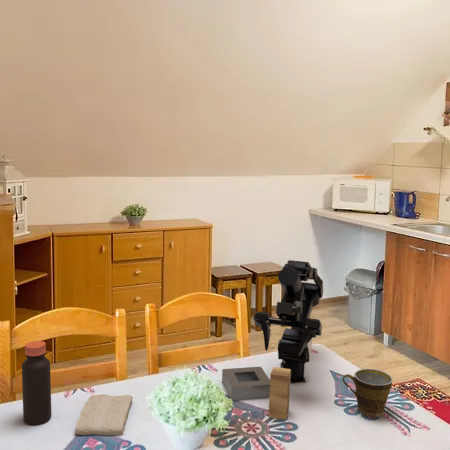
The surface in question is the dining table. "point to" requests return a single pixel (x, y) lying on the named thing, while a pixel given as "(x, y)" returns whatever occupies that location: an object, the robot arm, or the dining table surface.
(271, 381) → the oak peg
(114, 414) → the washcloth
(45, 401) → the bottle
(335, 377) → the dining table surface
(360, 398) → the ceramic cup
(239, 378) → the socket block
